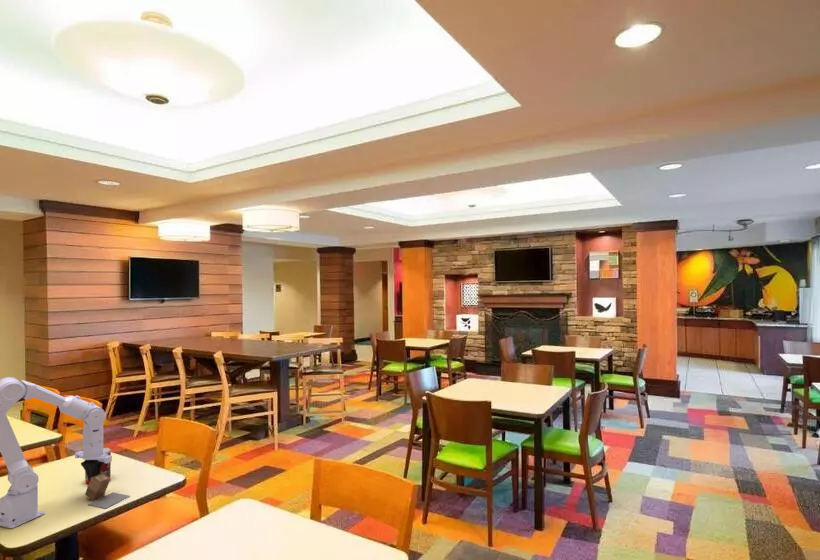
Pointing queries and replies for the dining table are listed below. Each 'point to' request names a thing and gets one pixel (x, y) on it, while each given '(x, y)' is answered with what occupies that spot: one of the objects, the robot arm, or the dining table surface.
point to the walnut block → (97, 486)
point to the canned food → (103, 467)
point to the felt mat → (108, 500)
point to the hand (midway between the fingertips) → (93, 480)
